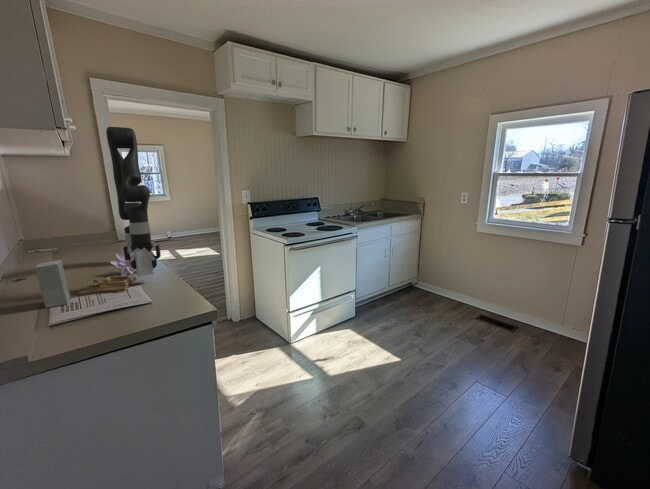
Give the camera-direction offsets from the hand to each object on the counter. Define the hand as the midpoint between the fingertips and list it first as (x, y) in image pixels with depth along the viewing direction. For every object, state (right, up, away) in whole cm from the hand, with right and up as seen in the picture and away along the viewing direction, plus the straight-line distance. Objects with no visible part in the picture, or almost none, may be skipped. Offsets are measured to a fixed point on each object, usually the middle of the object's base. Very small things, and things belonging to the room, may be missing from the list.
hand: (144, 268), depth 135 cm
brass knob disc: (-18, -7, -5) cm, 20 cm away
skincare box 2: (0, -3, +1) cm, 3 cm away
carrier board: (-13, -8, -3) cm, 16 cm away
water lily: (-17, -4, +15) cm, 23 cm away
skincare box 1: (-21, -12, -21) cm, 31 cm away
